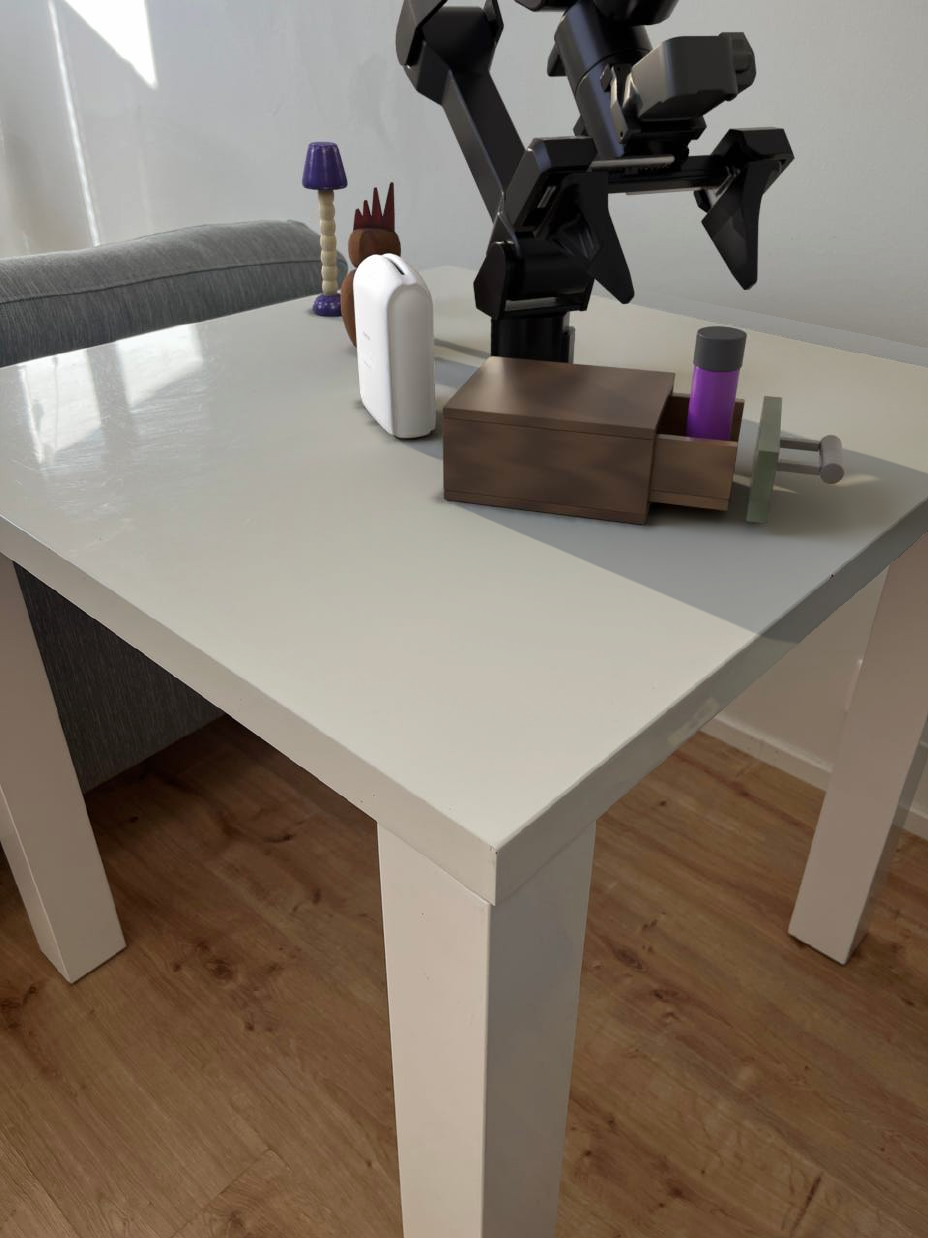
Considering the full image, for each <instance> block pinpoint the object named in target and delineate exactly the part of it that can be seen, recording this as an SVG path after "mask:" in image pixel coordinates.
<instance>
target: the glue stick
mask: <svg viewBox="0 0 928 1238" xmlns="http://www.w3.org/2000/svg"><path fill="white" fill-rule="evenodd" d="M747 337H748V333H747V332H746V331H745V330H742V329H740V328H737V327H732V326H723V325H722V326H721V325H712V326H711V325H710V326H705V327H701V328H699V329H698V330H697V331H696V336H695V344H694V351H693V360H692V363H693V365H694V366H693V373H692V380H691V388H690V394H691V395H690V403H689V411H688V419H687V426H686V434H685V437H693V438H702V439H712V440H721V441H729V437H730V431H731V424H732V418H733V411H734V405H735V398H736V397H737V393H738V392H737V391H738V386H739V385H738V384H739V378H740V371H741V368H742V367H743V365H744V363H743V362H744V358H745V357H744V356H745V351H746V343H747Z"/></svg>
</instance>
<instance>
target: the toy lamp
mask: <svg viewBox="0 0 928 1238" xmlns="http://www.w3.org/2000/svg"><path fill="white" fill-rule="evenodd" d="M341 155H342V154H341V152H340V148H339V146H338V144H337V143H336V142H333V141H332V142H331V141H313V142H309V143H308V145H307V149H306V153H305V159H304V163H303V164H304V165H303V171H302V177H301V185H302V187H303V188H304V189H307V190H312V191H317V200H318V203H319V205H318V216H319V218H320V221H319V231H320V234H321V235H320V239H319V243H320V244H319V245H320V247H321V252H320V261H321V264H322V266H321V277H322V282H321V288H322V293H321V294H319V295H318V296H317V297H315V299H314V300H313V303H312V308H311V309H312V312H313V314H316V315H320V316H327V317H332V316H342V312H341V292H338V290H339V284H338V281H337V278H338V267H337V262H338V253H337V250H336V248H337V245H338V243H337V242H338V241H337V237H336V234H335V233H336V230H337V225H336V221H335V216H336V207H335V205H334V202H335V191H338V190H343V189H344V190H345V189H346V188H347V187H348V185H349V184H348V183H349V182H348V177H347V174H346V170H345V166H344V162H343V159H342V156H341Z"/></svg>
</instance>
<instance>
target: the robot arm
mask: <svg viewBox="0 0 928 1238" xmlns="http://www.w3.org/2000/svg"><path fill="white" fill-rule="evenodd" d="M448 1H449V0H403V1H402V5H401V9H400V13H399V18H398V21H397V25H396V30H395V41H394V42H395V53H396V58H397V61H398V63H399V65H400V66H401V67H402V68H403V71H404V73H405V75H406V77H407V78H408V80H409V81H410V83H411V85H412V86H413V88H414V90H415V91H416V92H417V93H418V94H420V95H421V96H423V97H425V98H427V99H428V100H430V101H432V102H433V103H435V104H436V105H438V106H439V107H442V109H443V112H444V114H445V116H446V118H447V119H446V120H447V121H448V123H449V125H450V128H451V130H452V132H453V134H454V137H455V140H456V141H457V144H458V146H459V148H460V150H461V153H462V155H463V158H464V160H465V162H466V164H467V167H468V169H469V171H470V173H471V176H472V178H473V180H474V182H475V185H476V187H477V190H478V192H479V194H480V196H481V199H482V201H483V204H484V206H485V209H486V210H487V212H488V215H489V217H490V219H491V223H492V229H491V233H490V237H489V240H488V242H487V243H488V244H487V248H486V250H485V258H484V259H483V262H482V263H481V266H480V268H479V269H478V272H477V273H476V276H475V278H474V280H473V283H472V289H473V296H474V297H473V298H474V303H475V309H477V310H478V311H480V312H482V313H483V314H485V315H486V316H488V317H489V318H490V356H493V357H504V358H515V359H527V360H538V361H549V362H561V363H572V364H574V360H575V346H576V345H575V344H576V327H575V326H573V325H570V321H571V320H570V317H571V312H587V310H588V307H589V303H590V300H591V296H592V292H593V290H594V289H593V288H594V285H595V281H596V282H597V283H598V284H599V285H601V287H602V288H604V289H605V290H606V291H607V292H608V293H610V295H612V296H613V297H614V298H615V299H616V300H617V301H618V302H619V303H620V304H622V305H628V304H630V303H631V301H632V300H633V299H634V298H635V295H636V293H635V288H634V284H633V279H632V275H631V271H630V268H629V264H628V262H627V259H626V256H625V253H624V250H623V247H622V245H621V241H620V239H619V237H618V234H617V231H616V227H615V225H614V222H613V220H612V216H611V214H610V210H609V195H614V194H625V195H626V196H639V195H640V196H641V195H654V194H655V195H656V194H668V193H680V192H682V193H683V192H693V193H692V195H693V197H694V200H695V202H696V205H697V208H698V209H700V210H701V211H703V212H704V213H706V214H705V215H704V217H703V218H702V219H701V220H700V223H701V225H702V227H703V229H704V230H705V232H706V233H707V235H708V237H709V238H710V240H711V241H712V243H713V245H714V247H715V248H716V250H717V252H718V254H719V255H720V257H721V258H722V260H723V262H724V263H725V265H726V268H727V269H728V270H729V272H730V273H731V275H732V277H733V278H734V279H735V281H736V282H737V283H738V285H739V286H740V287H741V289H742V290H743V291H750V290H751V289H752V288H753V287H754V286H756V284H757V282H758V278H759V277H758V274H759V273H758V272H759V271H758V270H759V221H760V213H761V206H762V205H761V204H762V199H763V196H764V195H765V193H766V192H768V191H769V189H770V188H771V187H772V186H773V184H774V183H775V182H776V181H777V180H778V178H779V177H780V176H781V175H782V174H783V172H785V171H786V169H787V168H788V167H789V166H790V165H791V163H793V161H794V160H795V159H796V157H795V154H794V152H793V149H792V146H791V143H790V141H789V139H788V136H787V134H786V130H785V128H783V127H775V126H758V127H757V126H756V127H755V126H754V127H738V128H737V127H736V128H735V127H733V128H729V129H728V130H727V131H726V132H725V134H723V137H722V138H721V139H720V141H719V142H718V143H717V145H716V146H715V147H714V148H713V150H712V151H711V152H710V154H700V155H699V154H698V155H690V147H689V145H690V143H691V142H692V141H698V140H699V139H700V138H701V136H702V135H703V133H704V132H705V130H706V129H707V128H708V125H707V123H706V120H705V117H704V116H705V115H707V114H708V113H710V112H712V110H714V109H716V108H717V107H719V106H721V105H722V104H723V103H724V102H732V101H733V100H735V99H737V97H738V96H739V95H740V94H741V93H743V92H744V91H745V90H747V89H748V88H750V87H752V86H753V84H754V83H755V80H756V76H757V64H756V55H755V52H754V49H753V47H752V45H751V44H750V42H749V40H748V38H747V36H746V34H745V32H744V31H721V32H720V33H719V34H718V35H679V36H678V35H677V36H674V37H670V38H668V39H665V40H664V41H661V42H660V43H659V44H658V45H657V46H655V47H654V48H653V45H652V43H651V39H650V36H649V33H648V32H647V29H646V26H654V25H659V24H662V23H663V22H664V21H666V20H668V19H669V18H670V17H671V15H672V14H673V12H674V10H675V8H676V7H677V5H678V4H679V2H680V0H513V1H514V2H515V3H516V4H518V5H520V6H522V7H523V8H525V9H527V10H528V11H530V12H532V13H563V14H562V16H561V18H560V20H559V23H558V25H557V27H556V29H555V32H554V34H553V41H554V43H553V46H552V49H551V50H550V53H549V56H548V57H547V65H546V75H547V76H548V77H549V78H561V77H565V78H567V82H568V85H569V87H570V90H571V93H572V96H573V99H574V101H575V105H576V107H577V110H578V114H579V116H578V118H577V120H576V122H575V124H574V126H573V127H572V132H573V134H574V135H566V136H564V135H563V136H544V137H533V138H532V139H531V140H530V143H529V144H528V146H527V147H525V145H524V143H523V141H522V139H521V136H520V134H519V132H518V129H517V128H516V126H515V124H514V121H513V119H512V117H511V115H510V113H509V110H508V108H507V106H506V104H505V103H504V99H503V98H502V96H501V94H500V92H499V89H498V88H497V84H495V81H494V79H493V77H492V74H491V69H492V66H493V61H494V58H495V54H496V49H497V46H498V44H499V42H500V39H501V38H502V37H501V36H502V34H503V32H504V29H505V23H504V19H503V16H502V12H501V8H500V4H499V0H485V1H484V4H483V7H481V6H478V5H475V6H474V5H445V4H446V3H447V2H448Z"/></svg>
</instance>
